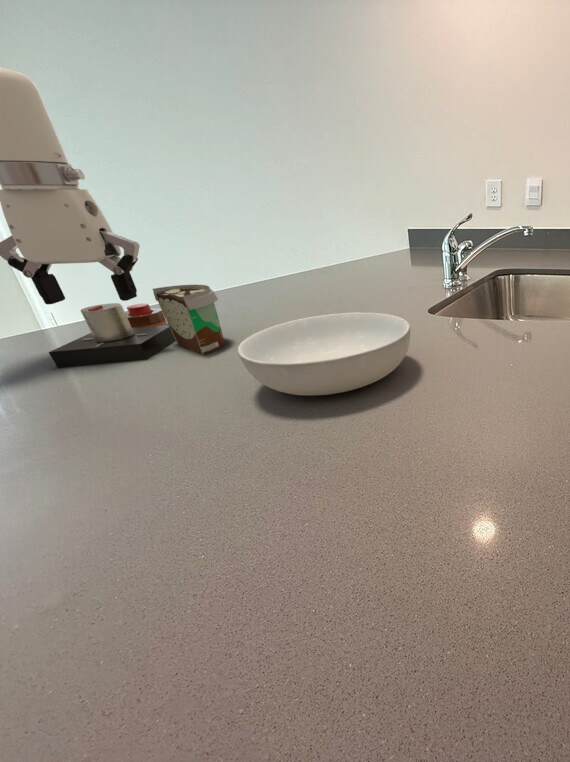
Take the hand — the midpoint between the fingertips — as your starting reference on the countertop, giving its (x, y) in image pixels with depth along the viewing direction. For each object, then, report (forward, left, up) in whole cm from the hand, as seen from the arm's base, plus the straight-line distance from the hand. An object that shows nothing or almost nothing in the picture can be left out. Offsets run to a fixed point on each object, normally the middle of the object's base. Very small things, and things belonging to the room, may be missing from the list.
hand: (93, 300), depth 64 cm
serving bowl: (+38, -21, -9) cm, 44 cm away
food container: (+14, 0, -9) cm, 16 cm away
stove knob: (+1, 0, -6) cm, 6 cm away
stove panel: (+1, 0, -9) cm, 9 cm away
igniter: (-1, +12, -9) cm, 15 cm away
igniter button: (-1, +12, -6) cm, 13 cm away
